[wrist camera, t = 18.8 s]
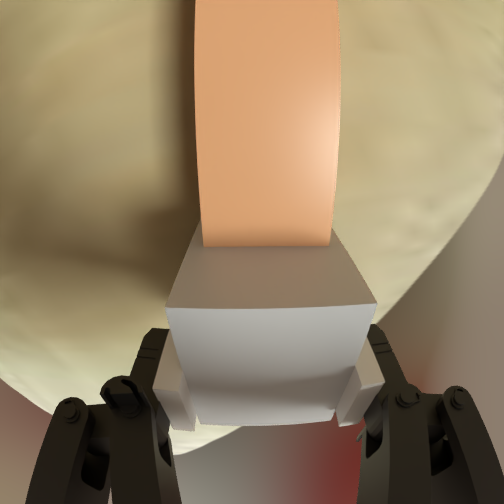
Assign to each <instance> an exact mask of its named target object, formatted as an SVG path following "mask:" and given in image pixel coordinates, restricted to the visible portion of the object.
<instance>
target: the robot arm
mask: <svg viewBox="0 0 504 504" xmlns="http://www.w3.org/2000/svg"><path fill="white" fill-rule="evenodd" d="M100 395H101V397H102V398H103V400H104V401H105V402H106V404H97V405H86V404H85V403H84V401H83V400H81V399H79V398H76V397H70V398H66V399H64V400H63V401H61V402H60V403H59V404H58V406H57V407H56V409H55V412H54V414H53V417H52V419H51V422H50V424H49V427H48V430H47V432H46V435H45V438H44V441H43V443H42V446H41V449H40V452H39V455H38V458H37V462H36V465H35V468H34V472H33V475H32V478H31V482H30V486H29V490H28V494H27V498H26V503H25V504H108V499H109V493H110V488H111V492H112V503H113V504H182V502H181V497H180V492H179V487H178V482H177V476H176V471H175V465H174V459H173V452H172V445H171V439H170V437H169V434H168V432H169V426H170V424H171V426H172V428H173V429H176V430H185V431H194V430H195V422H196V414H197V413H196V410H195V407H194V404H193V401H192V398H191V395H190V392H189V389H188V385H187V382H186V379H185V375H184V372H183V370H182V369H181V365H180V362H179V359H178V355H177V352H176V348H175V345H174V341H173V338H172V334H171V330H170V329H160V328H152V329H151V330H150V331H149V332H148V333H147V334H146V335H145V336H144V338H143V340H142V343H141V346H140V350H139V351H138V354H137V358H136V359H135V362H134V365H133V368H132V371H131V374H130V376H122V375H121V376H117V377H113V378H112V379H110V380H108V381H107V382H106V383H105V384H104V385H103V386H102V388H101V392H100ZM335 410H336V414H337V419H338V424H339V426H346V425H352V424H357V423H359V422H360V420H361V419H362V418H363V416H364V419H365V423H366V426H365V427H364V428H363V430H362V431H361V432H360V434H359V435H358V436H357V440H356V441H357V442H359V441H360V439H361V438H362V452H361V466H360V478H359V488H358V496H357V504H504V475H503V472H502V469H501V466H500V463H499V460H498V458H497V455H496V452H495V449H494V447H493V444H492V442H491V439H490V437H489V434H488V432H487V430H486V427H485V425H484V423H483V420H482V418H481V416H480V414H479V411H478V410H477V407H476V405H475V403H474V401H473V399H472V397H471V395H470V394H469V392H468V391H467V390H466V389H464V388H463V387H460V386H451V387H449V388H448V389H447V390H446V391H445V392H444V394H426V393H421V391H420V390H419V389H418V388H417V387H415V386H414V385H412V384H408V382H407V381H406V379H405V377H404V374H403V372H402V370H401V367H400V365H399V363H398V361H397V359H396V357H395V354H394V353H393V352H392V348H391V346H390V344H388V340H387V338H386V336H385V334H384V332H383V331H382V330H380V328H379V327H378V326H377V325H375V324H371V325H370V328H369V331H368V333H367V336H366V339H365V342H364V344H363V347H362V350H361V352H360V355H359V357H358V360H357V363H356V365H355V367H354V370H353V372H352V375H351V377H350V379H349V381H348V384H347V386H346V388H345V390H344V392H343V395H342V397H341V399H340V401H339V403H338V405H337V407H336V409H335Z"/></svg>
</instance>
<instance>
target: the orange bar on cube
mask: <svg viewBox="0 0 504 504" xmlns="http://www.w3.org/2000/svg"><path fill="white" fill-rule="evenodd" d="M194 82H195V123H196V147H197V166H198V182H199V197H200V210H201V219H200V221H199V223H198V226H197V228H196V230H195V233H194V235H193V237H192V240H191V242H190V245H189V247H188V249H187V252H186V254H185V257H184V259H183V262H182V264H181V267H180V269H179V272H178V274H177V277H176V279H175V282H174V284H173V287H172V290H171V292H170V295H169V297H168V300H167V303H166V305H165V311H166V315H167V319H168V323H169V327H170V330H171V334H172V338H173V341H174V345H175V348H176V352H177V355H178V359H179V362H180V365H181V369H182V370H183V372H184V375H185V379H186V382H187V385H188V389H189V392H190V395H191V398H192V401H193V404H194V407H195V410H196V413H197V416H198V419H199V421H200V424H206V425H228V426H259V425H260V426H265V425H286V424H300V423H310V422H320V421H328V420H331V418H332V416H333V414H334V412H335V409H336V407H337V405H338V403H339V401H340V399H341V397H342V395H343V392H344V390H345V388H346V386H347V384H348V381H349V379H350V377H351V375H352V372H353V370H354V367H355V365H356V363H357V360H358V357H359V355H360V352H361V350H362V347H363V344H364V342H365V339H366V336H367V333H368V331H369V328H370V325H371V322H372V319H373V316H374V313H375V310H376V307H377V301H376V300H375V298H374V296H373V294H372V293H371V291H370V289H369V287H368V286H367V284H366V282H365V280H364V279H363V277H362V275H361V274H360V272H359V270H358V269H357V267H356V265H355V264H354V262H353V260H352V259H351V257H350V256H349V254H348V252H347V251H346V249H345V248H344V246H343V244H342V243H341V241H340V240H339V238H338V237H337V235H336V233H335V232H334V230H333V229H332V218H333V209H334V199H335V189H336V177H337V164H338V148H339V128H340V89H341V71H340V34H339V16H338V3H337V0H196V3H195V41H194Z"/></svg>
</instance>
